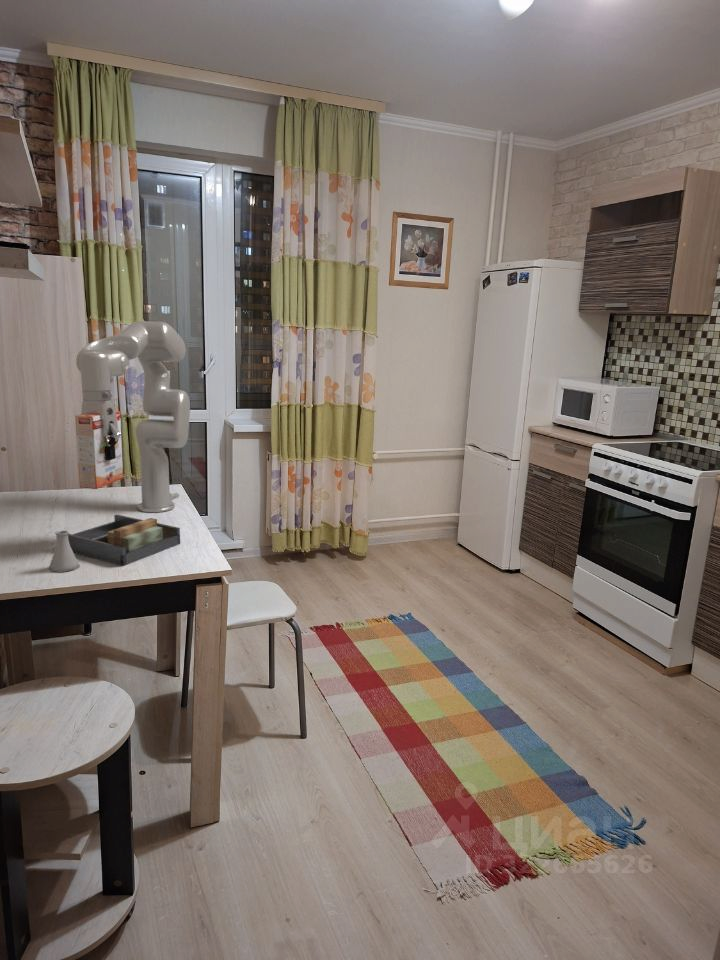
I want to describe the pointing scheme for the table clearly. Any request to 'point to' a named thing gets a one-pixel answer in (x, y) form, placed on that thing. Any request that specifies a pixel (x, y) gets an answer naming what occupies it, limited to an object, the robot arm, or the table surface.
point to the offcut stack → (136, 534)
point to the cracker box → (96, 453)
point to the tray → (114, 553)
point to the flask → (63, 554)
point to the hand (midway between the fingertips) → (101, 457)
